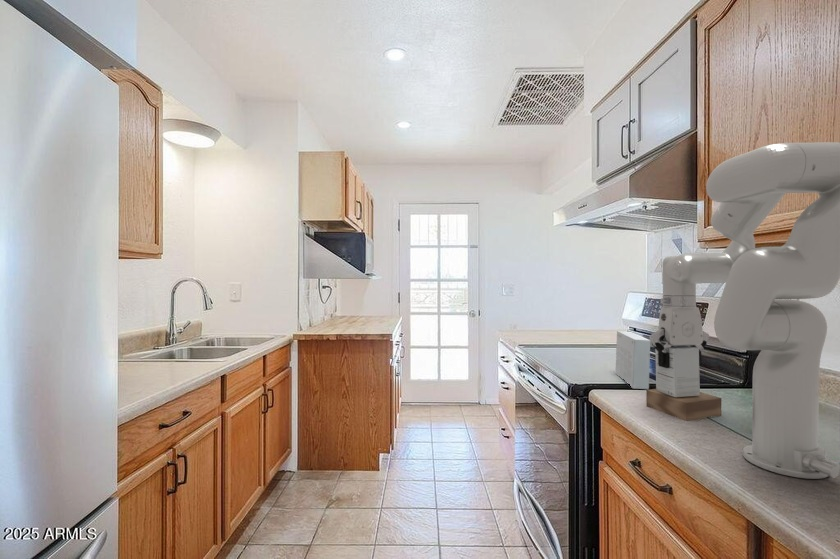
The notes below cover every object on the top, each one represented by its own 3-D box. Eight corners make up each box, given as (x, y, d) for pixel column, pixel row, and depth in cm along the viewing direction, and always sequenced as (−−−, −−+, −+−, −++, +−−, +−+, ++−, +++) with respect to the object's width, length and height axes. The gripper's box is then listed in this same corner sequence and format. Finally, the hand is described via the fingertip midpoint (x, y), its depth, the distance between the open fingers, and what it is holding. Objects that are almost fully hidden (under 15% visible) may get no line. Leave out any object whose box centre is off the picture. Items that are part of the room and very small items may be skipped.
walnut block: (721, 417, 106) (721, 398, 106) (685, 422, 103) (685, 402, 103) (679, 403, 118) (679, 385, 118) (646, 407, 114) (646, 389, 114)
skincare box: (651, 390, 130) (651, 339, 130) (632, 389, 131) (632, 339, 131) (631, 374, 151) (631, 330, 150) (614, 373, 152) (614, 330, 151)
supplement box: (679, 388, 115) (678, 343, 115) (700, 396, 107) (700, 347, 107) (655, 390, 114) (654, 344, 114) (674, 397, 106) (674, 348, 106)
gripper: (661, 303, 105) (661, 370, 105) (719, 302, 108) (720, 367, 108) (640, 302, 112) (641, 364, 112) (695, 301, 116) (696, 362, 115)
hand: (679, 366), depth 110 cm, fingers open, 9 cm apart
